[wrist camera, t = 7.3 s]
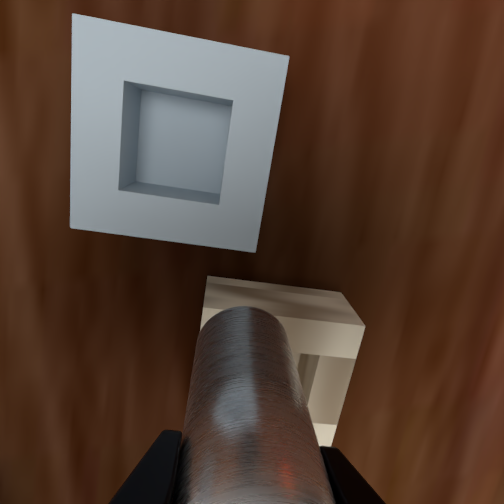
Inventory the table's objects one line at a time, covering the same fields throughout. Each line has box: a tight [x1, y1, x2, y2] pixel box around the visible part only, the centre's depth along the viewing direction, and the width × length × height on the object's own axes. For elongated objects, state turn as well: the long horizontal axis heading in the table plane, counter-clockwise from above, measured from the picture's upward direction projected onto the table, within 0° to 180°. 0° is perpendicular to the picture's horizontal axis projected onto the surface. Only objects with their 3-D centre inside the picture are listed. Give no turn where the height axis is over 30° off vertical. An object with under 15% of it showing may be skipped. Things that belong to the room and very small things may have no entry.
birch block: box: [200, 276, 365, 447], centre depth 20 cm, size 8×8×4 cm
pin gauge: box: [172, 306, 336, 504], centre depth 7 cm, size 3×3×10 cm
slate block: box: [70, 13, 289, 253], centre depth 16 cm, size 8×8×4 cm
